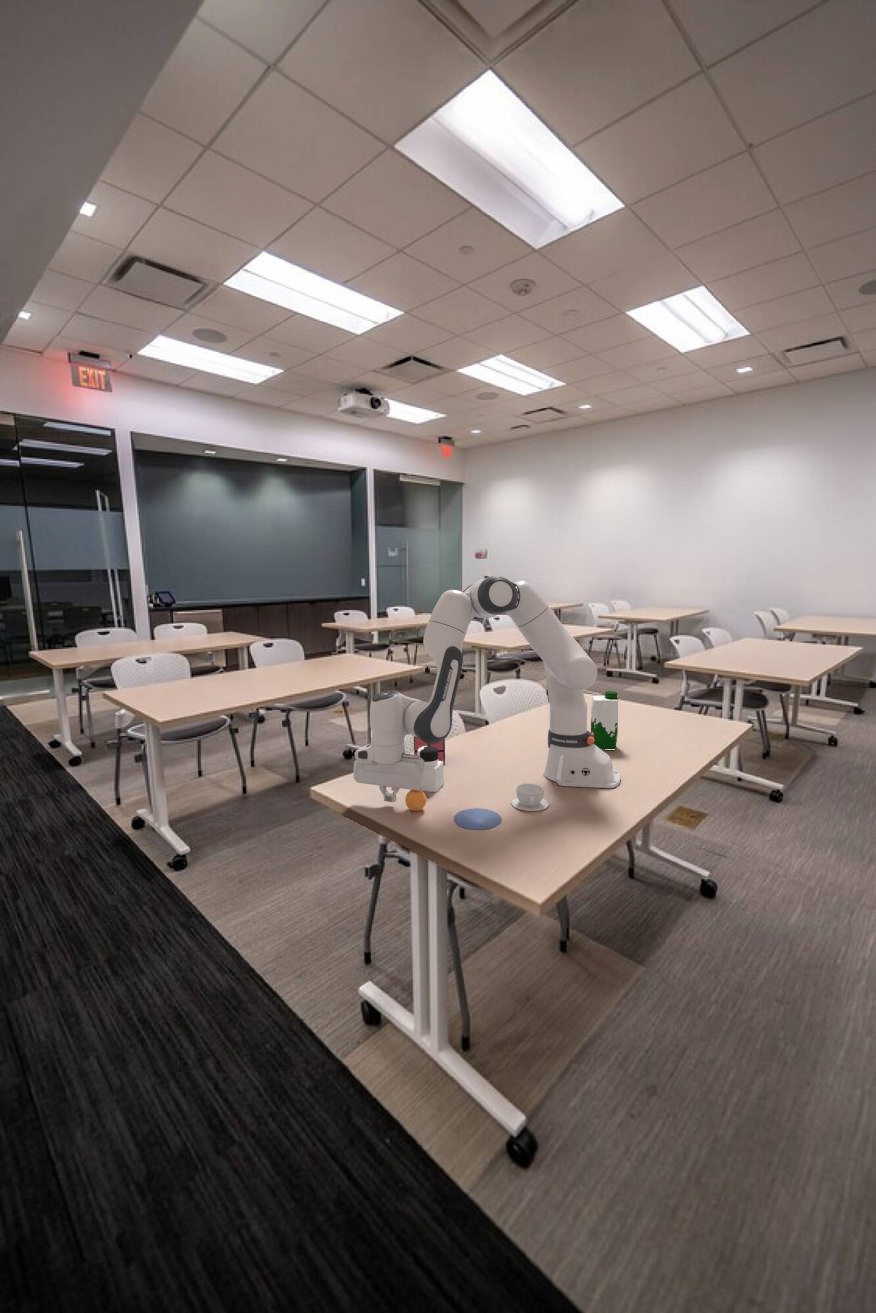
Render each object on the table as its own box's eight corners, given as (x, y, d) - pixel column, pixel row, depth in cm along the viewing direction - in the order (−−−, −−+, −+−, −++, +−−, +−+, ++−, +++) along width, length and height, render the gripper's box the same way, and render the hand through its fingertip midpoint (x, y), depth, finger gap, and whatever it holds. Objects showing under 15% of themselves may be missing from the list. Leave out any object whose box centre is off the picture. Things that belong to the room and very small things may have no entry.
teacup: (509, 797, 152) (509, 781, 151) (545, 797, 151) (545, 781, 151) (513, 813, 142) (513, 795, 141) (551, 812, 142) (551, 795, 141)
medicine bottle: (444, 783, 162) (443, 745, 161) (436, 792, 156) (435, 752, 154) (421, 781, 165) (420, 743, 163) (412, 790, 158) (411, 750, 156)
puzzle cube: (444, 765, 179) (444, 736, 177) (414, 766, 179) (413, 736, 177) (445, 755, 188) (444, 727, 187) (416, 756, 189) (415, 728, 187)
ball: (430, 807, 146) (429, 787, 145) (421, 815, 141) (421, 795, 140) (410, 804, 148) (410, 784, 147) (402, 812, 143) (401, 792, 142)
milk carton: (618, 751, 188) (619, 695, 186) (591, 750, 190) (592, 694, 187) (615, 744, 197) (616, 689, 194) (589, 743, 199) (590, 689, 196)
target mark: (506, 812, 142) (506, 811, 142) (494, 832, 131) (494, 832, 130) (462, 806, 146) (462, 805, 146) (447, 825, 135) (447, 824, 135)
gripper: (428, 751, 144) (430, 801, 146) (360, 745, 152) (363, 792, 154) (418, 759, 139) (420, 810, 141) (349, 751, 146) (351, 800, 148)
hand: (390, 801), depth 147 cm, fingers closed
